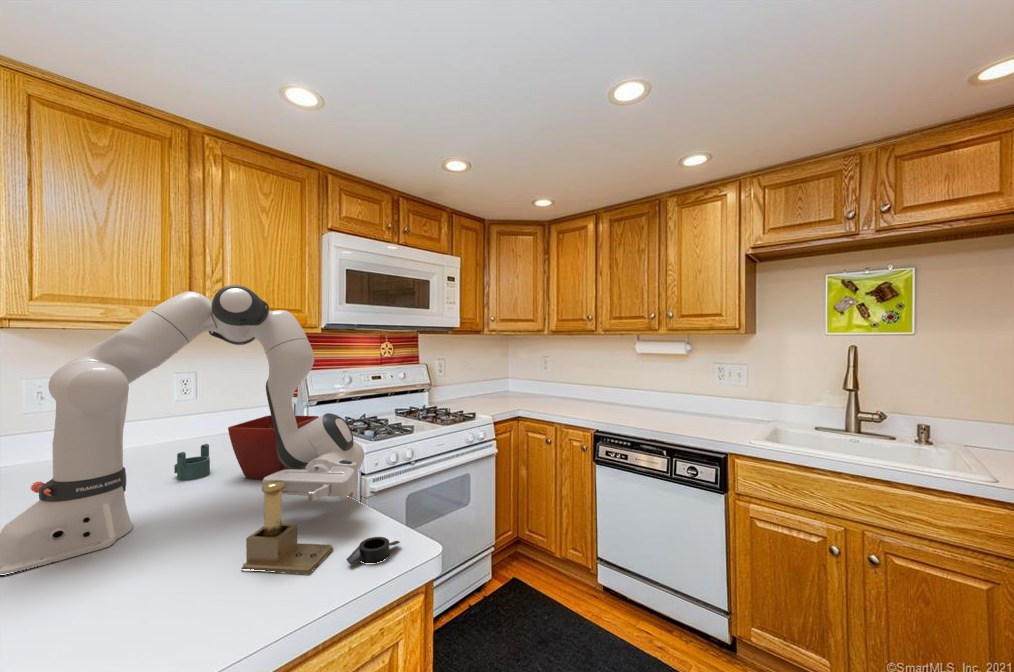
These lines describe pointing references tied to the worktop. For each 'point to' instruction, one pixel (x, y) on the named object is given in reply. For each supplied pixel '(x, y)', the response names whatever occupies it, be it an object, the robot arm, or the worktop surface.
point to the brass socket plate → (283, 552)
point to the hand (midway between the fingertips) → (289, 496)
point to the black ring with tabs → (371, 550)
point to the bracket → (193, 465)
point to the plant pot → (259, 446)
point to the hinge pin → (273, 507)
